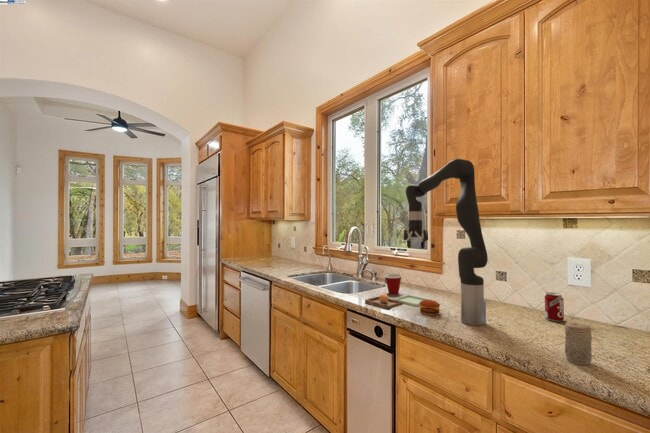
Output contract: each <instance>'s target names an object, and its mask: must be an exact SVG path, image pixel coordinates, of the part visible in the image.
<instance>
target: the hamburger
mask: <svg viewBox="0 0 650 433" xmlns="http://www.w3.org/2000/svg"><path fill="white" fill-rule="evenodd" d="M419 304H420V306H419V309H420V310H419V312H420V313H421V314H422V315H425V316H430V317H439V316H440V306H441V304H440V303H439V302H438V301H436V300H433V299H432V300H423V301H421V302H420V303H419Z"/></svg>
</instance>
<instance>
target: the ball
mask: <svg viewBox="0 0 650 433" xmlns="http://www.w3.org/2000/svg"><path fill="white" fill-rule="evenodd" d="M388 299H389V296H388V295H387V294H386V293H381V294H380V295H379V300H380V302H381V303H386V302H387V301H388Z"/></svg>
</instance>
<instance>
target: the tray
mask: <svg viewBox="0 0 650 433" xmlns="http://www.w3.org/2000/svg"><path fill="white" fill-rule="evenodd" d="M379 296H380V295H379ZM379 296H375V297H371V298H367V299H365V302H364V303H365V304H368V305H371V306H375V307H378V308H382V309H384V310H392V308H394V307H395V308H396V307H398V306H402V305H403V302H401V301H397V300H393V298H388V301H387V302H386V303H381V302H380V300H379Z"/></svg>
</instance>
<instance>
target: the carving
mask: <svg viewBox="0 0 650 433" xmlns="http://www.w3.org/2000/svg"><path fill="white" fill-rule="evenodd" d="M564 333H565V338H564V339H565V340H564V353H565V358H566V360H567V361H568V362H570V363H571V364H575V365H578V366H587V365H589V364H591V363H592V356H593V355H592V351H593V350H592V340H593V337H592V330H591V327H590V326H589V325H588V324H585V323H580V322H571V321H567V322H565V325H564Z"/></svg>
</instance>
